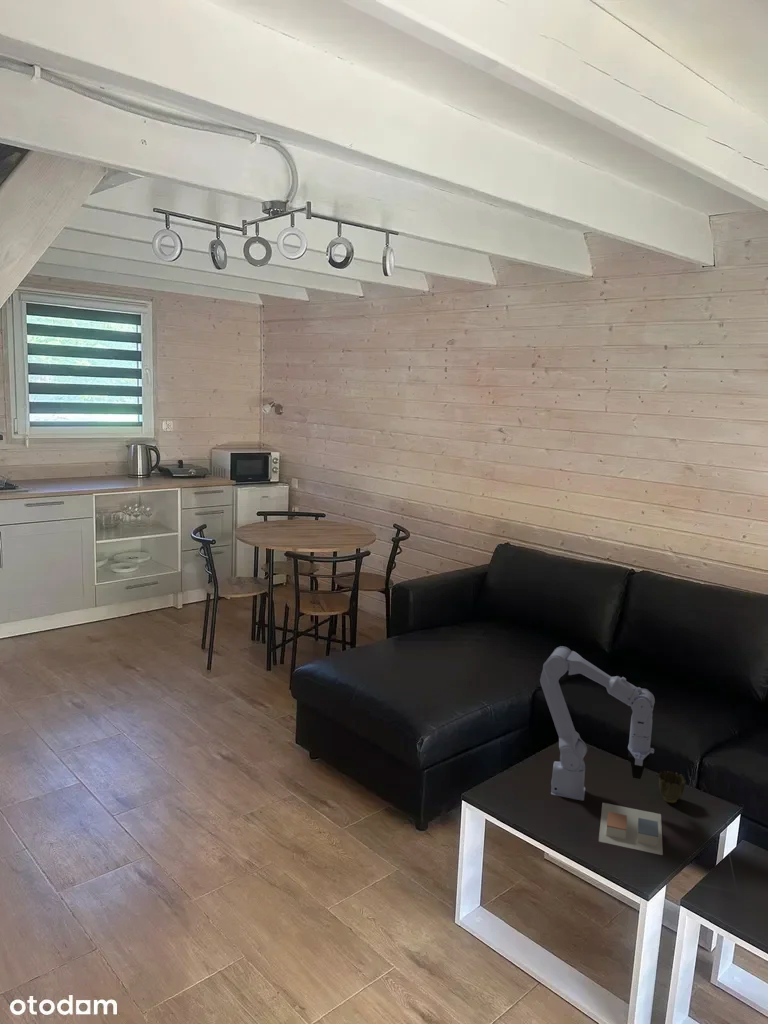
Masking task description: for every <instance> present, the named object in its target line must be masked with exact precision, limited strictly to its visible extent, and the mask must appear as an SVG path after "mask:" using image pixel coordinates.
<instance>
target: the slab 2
mask: <svg viewBox="0 0 768 1024" xmlns="http://www.w3.org/2000/svg"><path fill="white" fill-rule="evenodd" d="M637 842H639V843H644V844H649V845H653V846H657V845H658V822H657V821H652V820H647V819H642V818H638V831H637Z"/></svg>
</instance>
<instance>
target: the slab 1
mask: <svg viewBox="0 0 768 1024" xmlns="http://www.w3.org/2000/svg"><path fill="white" fill-rule="evenodd" d="M626 827H627V815H623V814H618V813H613V812H608V818H607V830H606V836H611V837H616V838H620V839H625V840H626Z"/></svg>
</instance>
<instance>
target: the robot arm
mask: <svg viewBox="0 0 768 1024" xmlns="http://www.w3.org/2000/svg"><path fill="white" fill-rule="evenodd" d="M567 672H568V674H567V675H568V676H572V675H578V674H580V675H582V676H585V677H586V678H588V679H590V680H591V681H593V682H595V683H598V684H599V685H601V686H603V687H605V688H606V691H607V693H608V694H609V695H611V696H612V697H614V698H615V699H617V701H618V700H619V701H620V702H622V703H623V704H625V705H627V706H628V707H630V709H631V710H632V713H631V716H630V727H629V739H628V745H627V750H628V752H627V753H628V755H627V758H628V760H629V763H630V766H631V774H632V778H633V779H636V780H637V779H638V780H640V779H641V778H642V776H643V774H644V773H643V772H644V769H645V768H646V765H647V764H648V763H649V761H650V754H654V753H655V748H654V747H651V741H652V730H653V715H654V714H653V710H654V706H655V703H656V701H655V700H656V699H655V696H654V694H653V692H651V691H650V690H649V689H647V688H641V687H640V686H638V687H637V686H635V685H634V684H632V683H630V682H629V681H627V678H626V677H624V676H622V677H621V676H619V675H616V676H611V675H609V674H608V673H606V672H605V671H603V670H602V669H600V668H599V667H597V666H596V665H594V664H593V663H591V662H590V661H588V660H586V659H585V658H583V657H582V655H580V654H579V653H577V652H576V651H574V650H571V649H570V648H569V647H567V646H563V645H562V646H561V645H560V646H558V647H556V648H554V650H553V651H552V653H550V656H548V658H547V659H546V661H544V663H543V665H542V671H541V674H540V678H539V682H540V686H541V689H542V691H543V695H544V698H545V701H546V704H547V707H548V709H549V712H550V715H551V718H552V721H553V723H554V724H553V725H554V727H555V730H556V733H557V735H558V748H559V749H558V750H559V752H560V754H559V761H556V760H555V761H553V766H552V772H551V773H552V776H551V781H550V785H551V789H550V791H551V792H550V794H551V795H553V796H557V797H563V798H569V799H572V800H576V801H577V800H579V801H585V795H586V787H585V778H586V777H585V775H586V774H585V773H586V764H585V760H584V757H585V756H586V755H587V753H588V747H587V744H586V743H585V741H584V740H583V739H582V738H581V736H580V733H579V732H577V731H576V729H575V726H574V722H573V721H572V717H571V714H570V711H569V709H568V705H567V703H566V699H565V697H564V694H563V692H562V688H561V686H560V682H559V680H560V679H561V677H563V676H564V675H566V673H567Z"/></svg>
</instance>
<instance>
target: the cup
mask: <svg viewBox="0 0 768 1024" xmlns="http://www.w3.org/2000/svg"><path fill="white" fill-rule="evenodd" d="M686 782H687V779H685V776H683V774H682V773H681V774H679V773H678V772H675V773H674V771H670V770H667V771H666V770H663V772H662V771H659V773H658V789H659V792H660V794H661V796H662V797H663V801H664V802H666V803H668V804H676V803H677V802H678V801H677V800H679V799H681V798H682V796H683V793H684V791H685V787H686Z"/></svg>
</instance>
